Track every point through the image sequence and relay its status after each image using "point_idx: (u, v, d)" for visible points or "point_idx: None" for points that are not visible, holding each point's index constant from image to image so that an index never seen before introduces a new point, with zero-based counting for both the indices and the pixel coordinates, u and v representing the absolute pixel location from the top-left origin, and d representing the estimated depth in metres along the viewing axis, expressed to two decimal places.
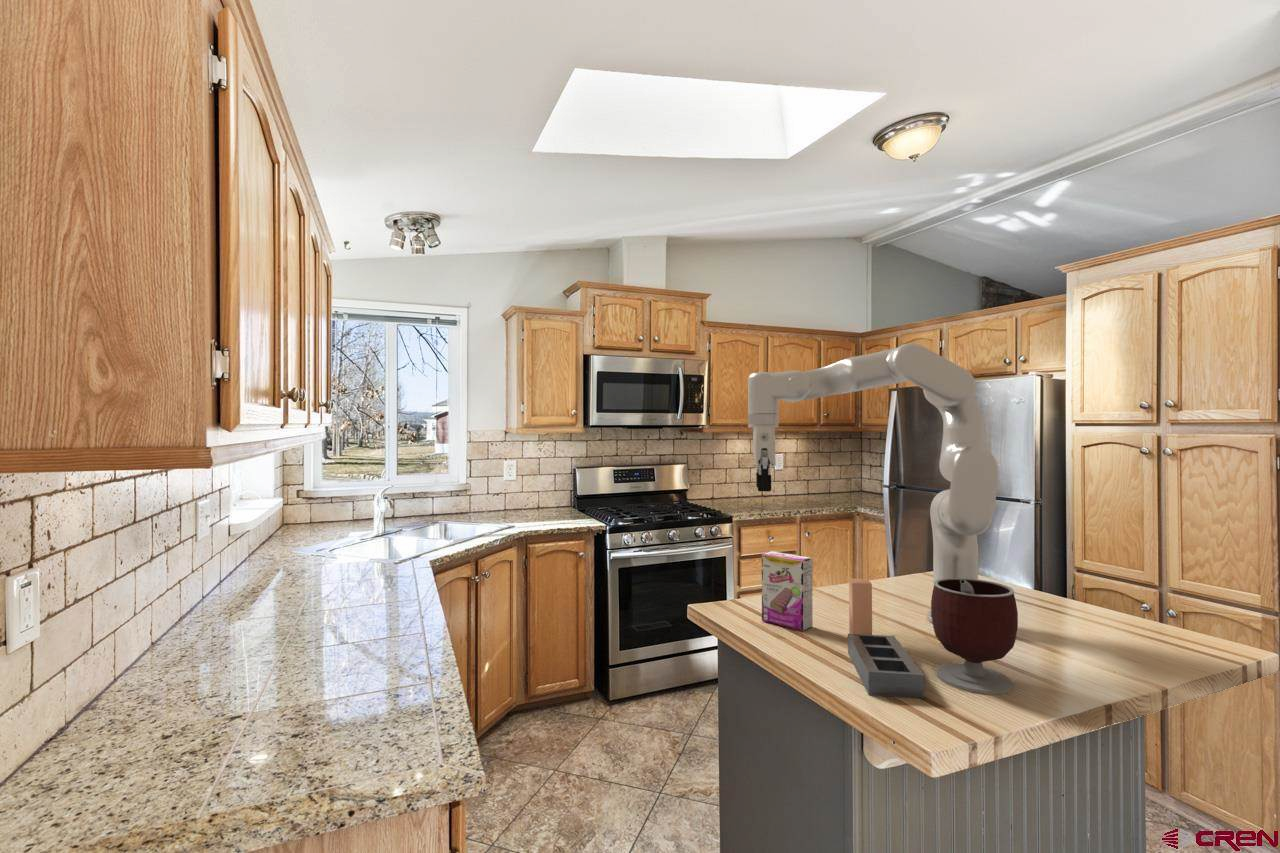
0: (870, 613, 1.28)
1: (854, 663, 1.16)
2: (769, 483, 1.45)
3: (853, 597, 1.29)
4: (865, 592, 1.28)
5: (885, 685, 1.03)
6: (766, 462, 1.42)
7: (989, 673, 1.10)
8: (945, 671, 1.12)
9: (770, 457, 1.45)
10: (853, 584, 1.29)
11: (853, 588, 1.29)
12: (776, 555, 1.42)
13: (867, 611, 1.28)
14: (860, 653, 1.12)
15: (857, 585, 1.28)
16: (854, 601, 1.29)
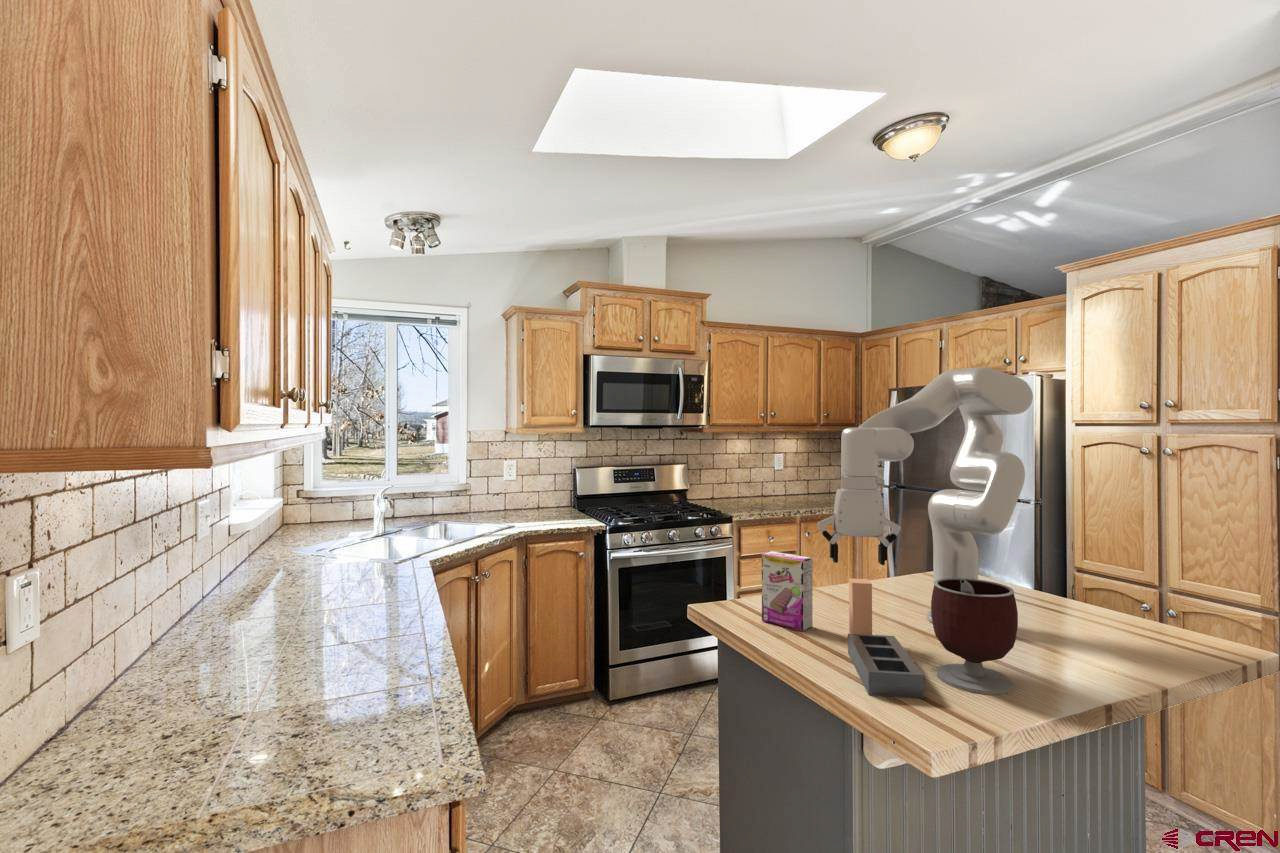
0: (870, 613, 1.28)
1: (854, 663, 1.16)
2: None
3: (853, 597, 1.29)
4: (865, 592, 1.28)
5: (885, 685, 1.03)
6: None
7: (989, 673, 1.10)
8: (945, 671, 1.12)
9: None
10: (853, 584, 1.29)
11: (854, 588, 1.29)
12: (776, 555, 1.42)
13: (867, 611, 1.28)
14: (860, 653, 1.12)
15: (857, 585, 1.28)
16: (854, 601, 1.29)
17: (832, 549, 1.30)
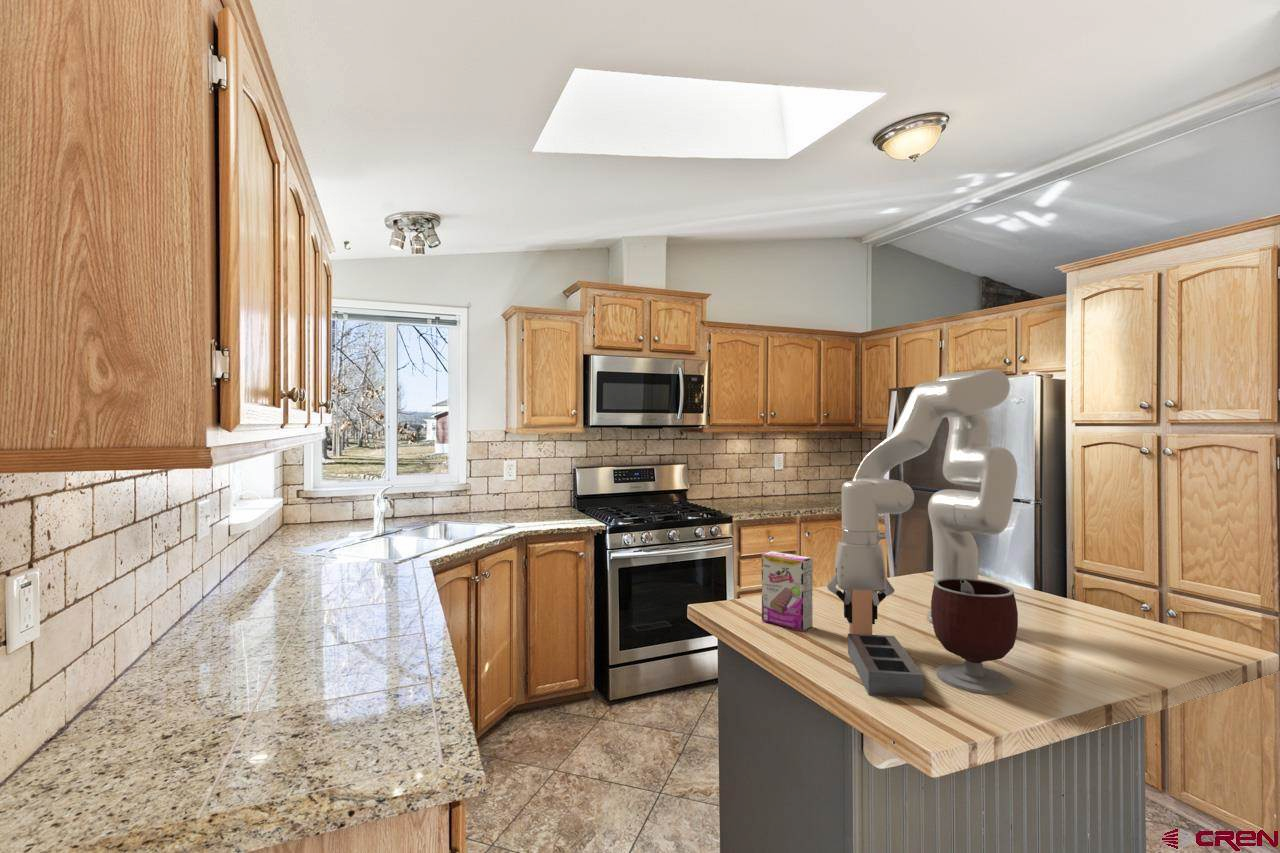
0: (870, 613, 1.28)
1: (854, 663, 1.16)
2: None
3: (853, 597, 1.29)
4: (865, 592, 1.28)
5: (885, 685, 1.03)
6: None
7: (989, 673, 1.10)
8: (945, 671, 1.12)
9: None
10: None
11: None
12: (776, 555, 1.42)
13: (867, 611, 1.28)
14: (860, 653, 1.12)
15: None
16: (854, 601, 1.29)
17: (846, 609, 1.30)
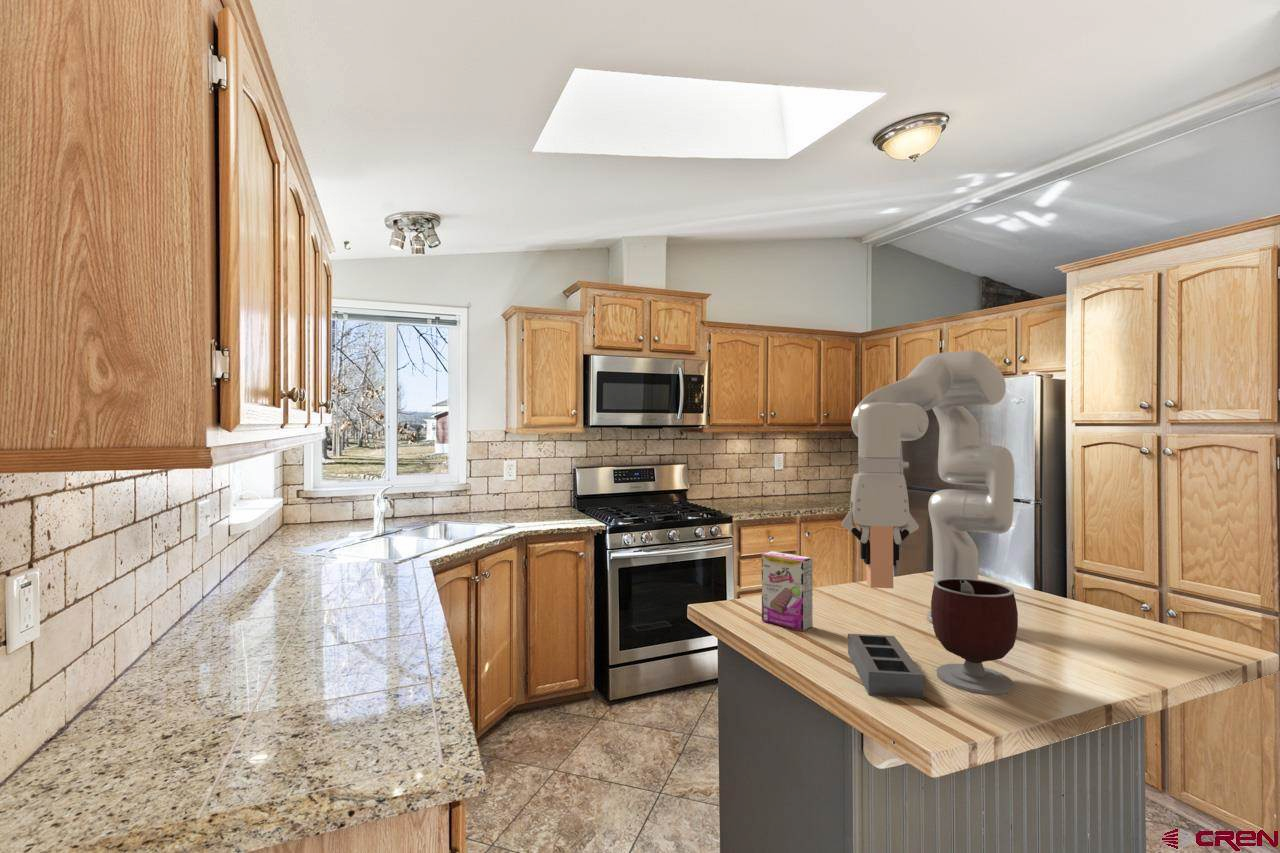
0: (891, 552, 1.11)
1: (854, 663, 1.16)
2: None
3: (871, 534, 1.12)
4: (885, 528, 1.12)
5: (885, 685, 1.03)
6: None
7: (989, 673, 1.10)
8: (945, 671, 1.12)
9: None
10: None
11: None
12: (776, 555, 1.42)
13: (887, 550, 1.11)
14: (860, 653, 1.12)
15: None
16: (872, 538, 1.12)
17: (863, 549, 1.13)
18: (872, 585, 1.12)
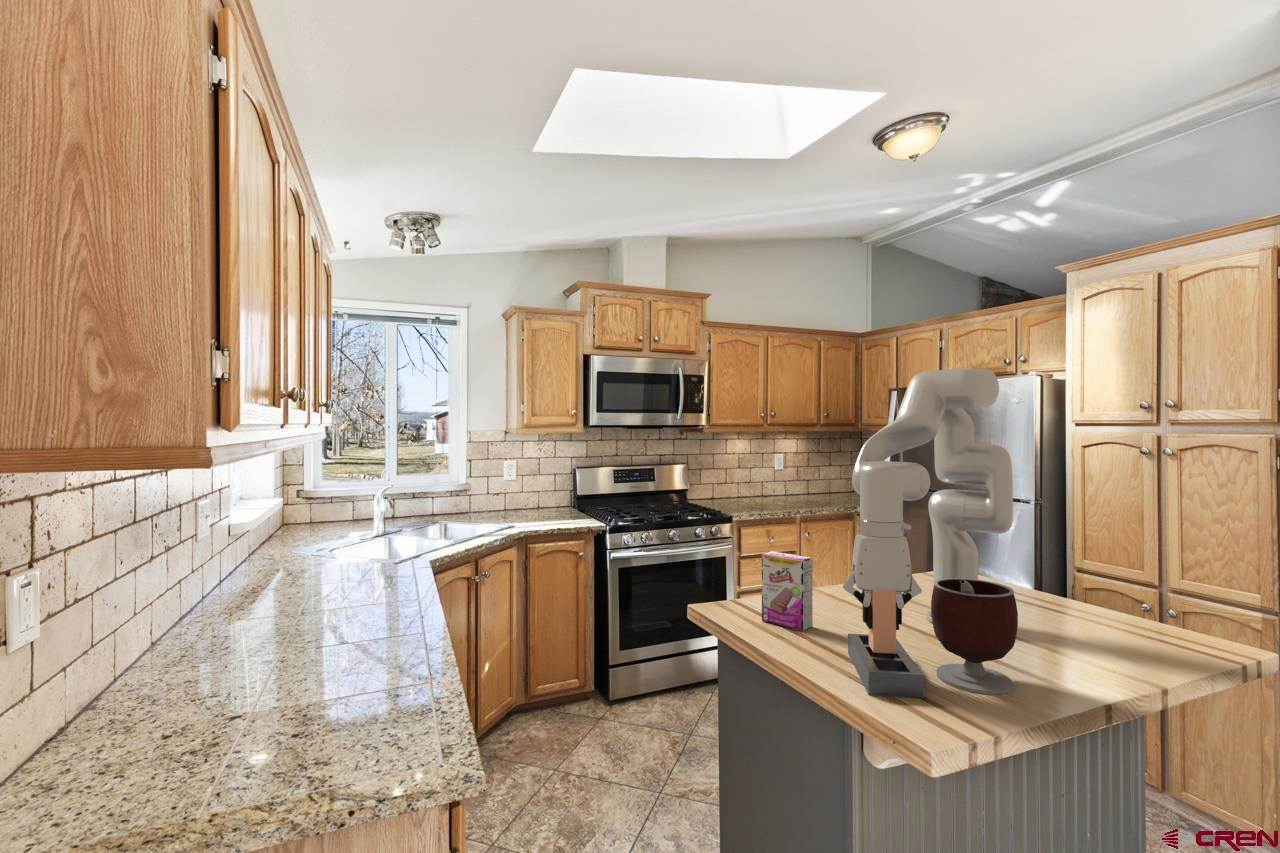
0: (894, 617, 1.10)
1: (854, 663, 1.16)
2: None
3: (874, 598, 1.11)
4: (887, 592, 1.10)
5: (885, 685, 1.03)
6: None
7: (989, 673, 1.10)
8: (945, 671, 1.12)
9: None
10: None
11: None
12: (776, 555, 1.42)
13: (890, 615, 1.10)
14: (860, 653, 1.12)
15: None
16: (874, 603, 1.11)
17: (866, 612, 1.12)
18: (875, 650, 1.11)
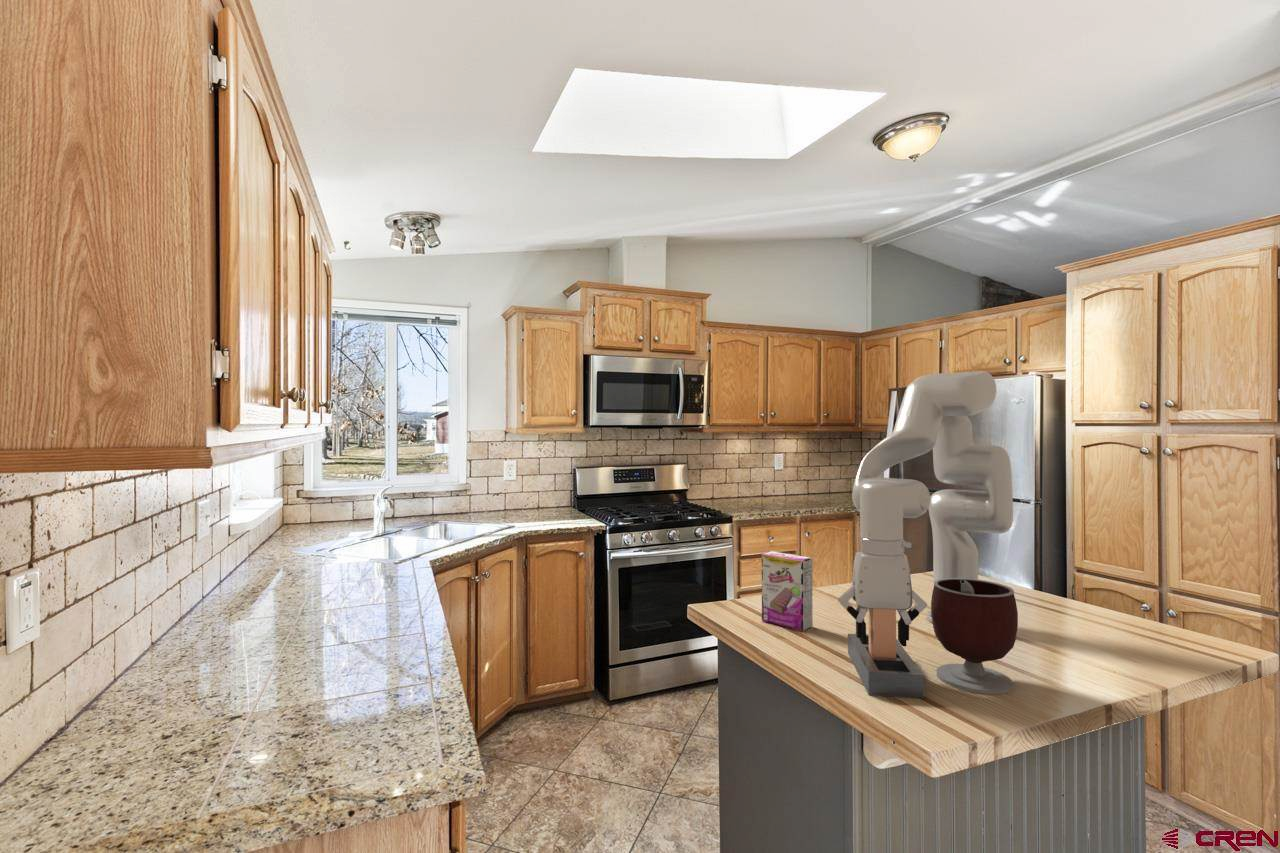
0: (894, 642, 1.10)
1: (854, 663, 1.16)
2: None
3: (874, 623, 1.11)
4: (888, 617, 1.11)
5: (885, 685, 1.03)
6: None
7: (989, 673, 1.10)
8: (945, 671, 1.12)
9: None
10: (874, 608, 1.11)
11: (875, 613, 1.11)
12: (776, 555, 1.42)
13: (890, 639, 1.10)
14: (860, 653, 1.12)
15: (879, 609, 1.11)
16: (875, 627, 1.11)
17: (859, 628, 1.12)
18: None
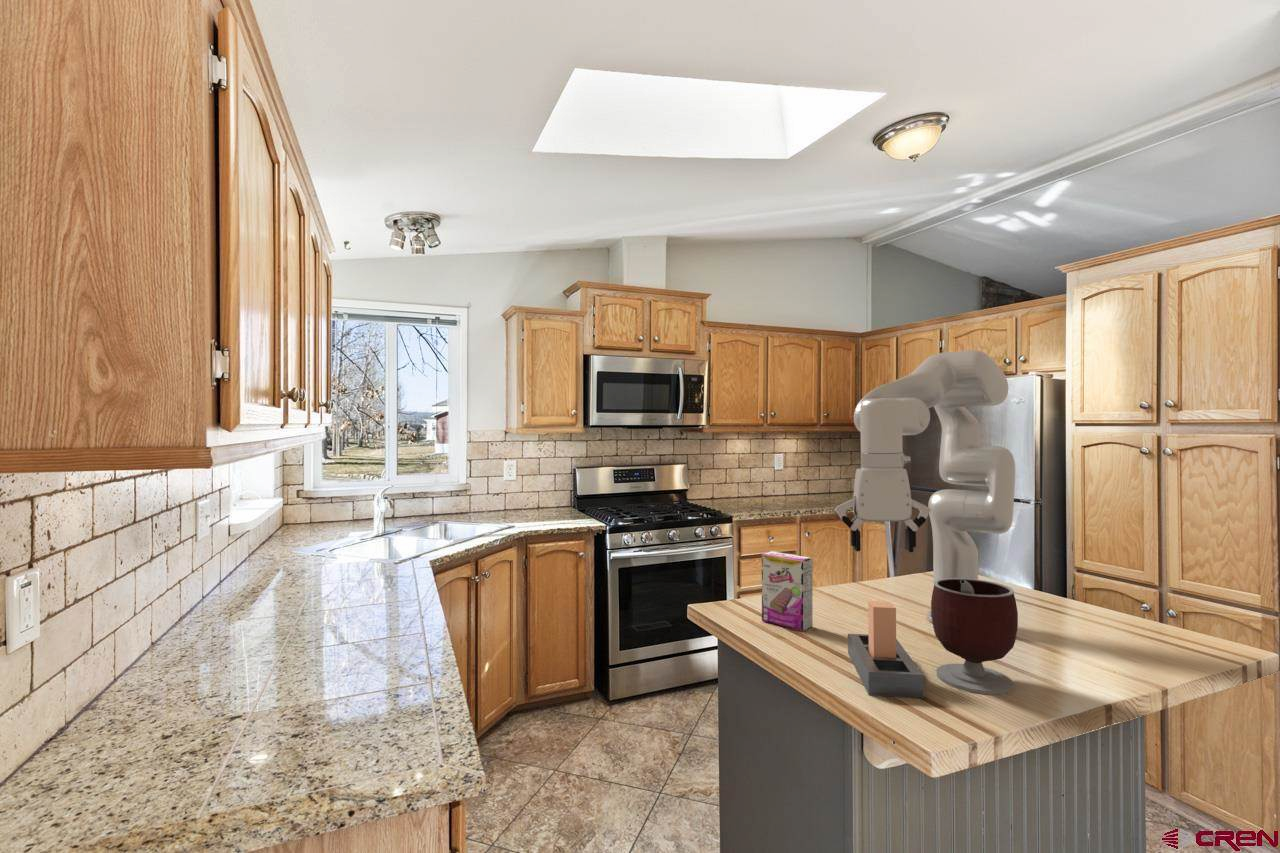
0: (894, 642, 1.10)
1: (854, 663, 1.16)
2: None
3: (874, 623, 1.11)
4: (888, 617, 1.10)
5: (885, 685, 1.03)
6: None
7: (989, 673, 1.10)
8: (945, 671, 1.12)
9: None
10: (874, 608, 1.11)
11: (875, 613, 1.11)
12: (776, 555, 1.42)
13: (891, 640, 1.10)
14: (860, 653, 1.12)
15: (879, 609, 1.11)
16: (875, 628, 1.11)
17: (853, 536, 1.16)
18: None
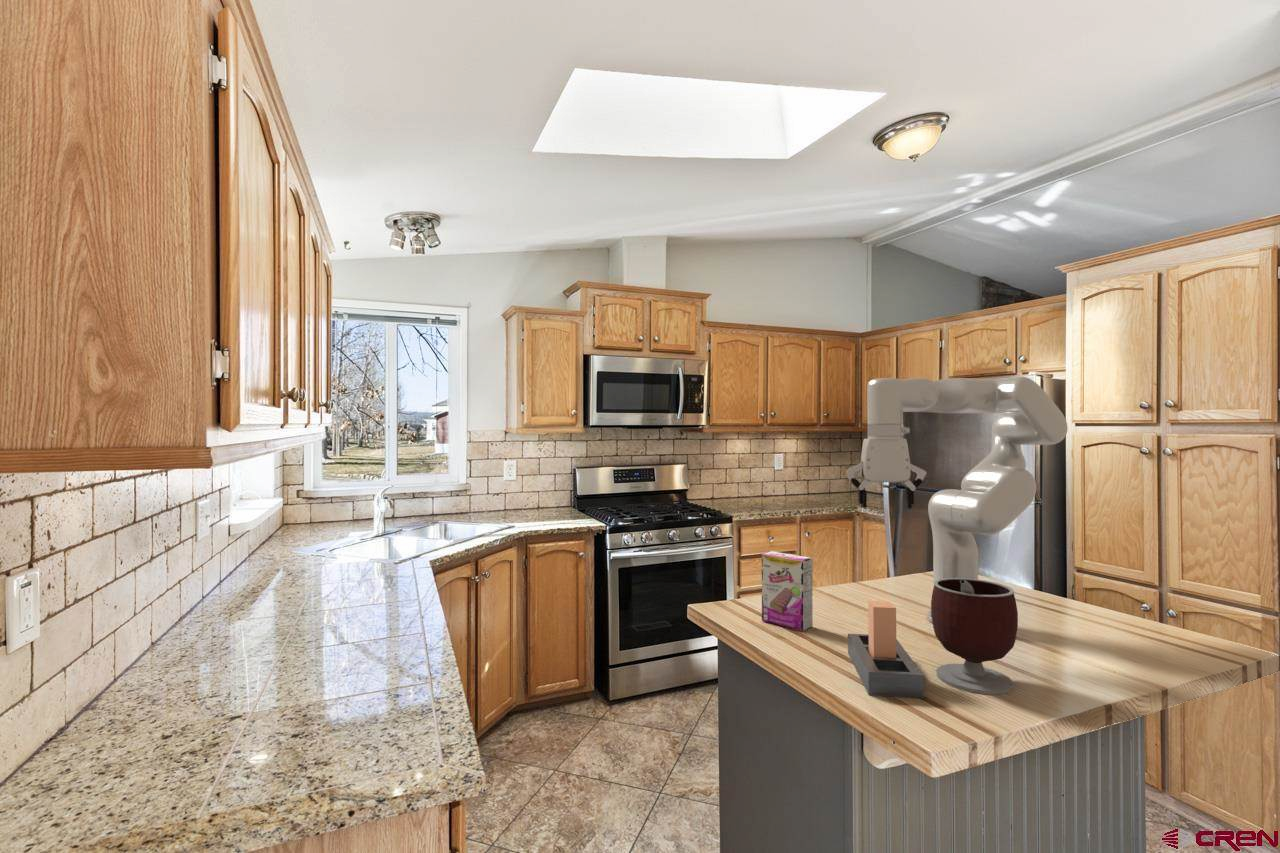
0: (894, 642, 1.10)
1: (854, 663, 1.16)
2: None
3: (874, 623, 1.11)
4: (888, 617, 1.10)
5: (885, 685, 1.03)
6: None
7: (989, 673, 1.10)
8: (945, 671, 1.12)
9: None
10: (874, 608, 1.11)
11: (875, 613, 1.11)
12: (776, 555, 1.42)
13: (891, 640, 1.10)
14: (860, 653, 1.12)
15: (879, 609, 1.11)
16: (875, 628, 1.11)
17: (860, 495, 1.36)
18: None
